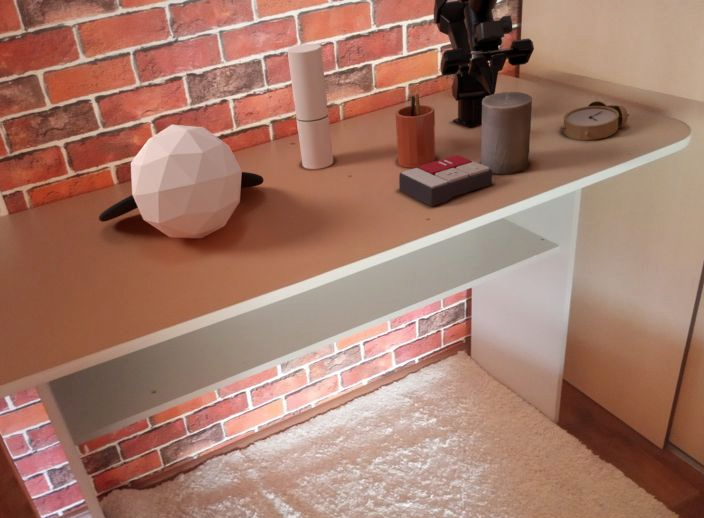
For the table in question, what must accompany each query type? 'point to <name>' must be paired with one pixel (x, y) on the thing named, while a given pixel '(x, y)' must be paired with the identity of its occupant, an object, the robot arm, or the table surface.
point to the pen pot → (415, 136)
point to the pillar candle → (506, 132)
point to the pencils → (414, 99)
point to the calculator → (444, 179)
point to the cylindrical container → (310, 105)
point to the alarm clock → (594, 121)
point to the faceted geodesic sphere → (184, 183)
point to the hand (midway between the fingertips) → (492, 93)
